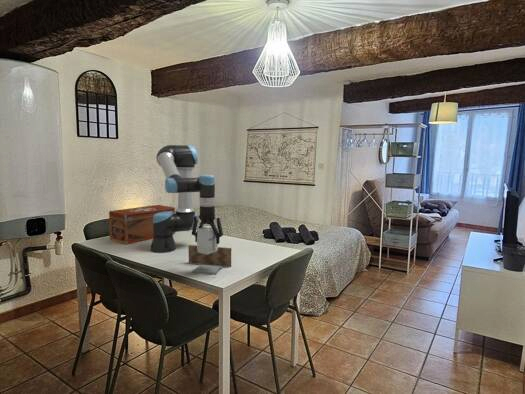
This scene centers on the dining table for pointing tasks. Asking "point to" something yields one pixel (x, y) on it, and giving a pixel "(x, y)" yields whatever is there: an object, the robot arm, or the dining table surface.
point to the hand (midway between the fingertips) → (207, 249)
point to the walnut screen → (210, 256)
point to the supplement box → (205, 240)
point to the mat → (207, 269)
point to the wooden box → (134, 223)
